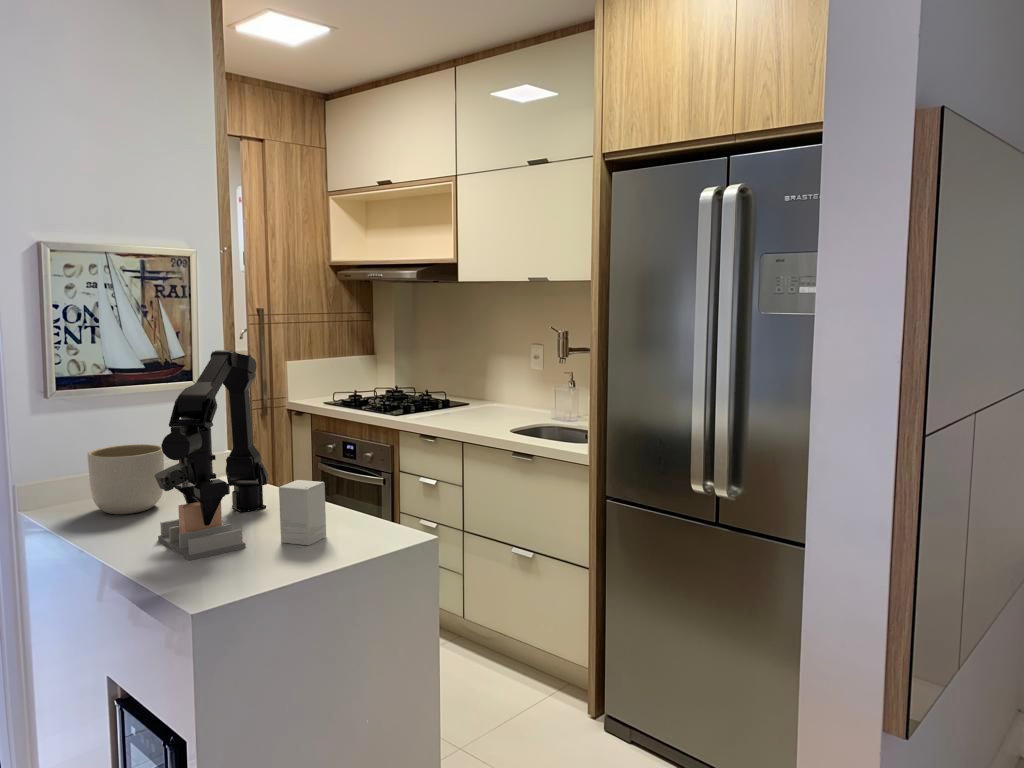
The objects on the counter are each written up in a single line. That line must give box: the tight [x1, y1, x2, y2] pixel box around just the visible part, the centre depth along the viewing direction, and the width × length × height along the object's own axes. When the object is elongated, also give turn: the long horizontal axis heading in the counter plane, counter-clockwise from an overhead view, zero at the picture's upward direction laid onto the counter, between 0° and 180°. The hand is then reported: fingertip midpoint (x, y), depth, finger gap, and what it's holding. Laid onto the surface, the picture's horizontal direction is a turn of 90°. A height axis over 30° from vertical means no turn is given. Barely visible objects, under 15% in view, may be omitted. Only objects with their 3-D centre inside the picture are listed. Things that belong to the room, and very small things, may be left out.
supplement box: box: [278, 479, 327, 546], centre depth 168 cm, size 7×7×13 cm
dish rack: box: [157, 518, 246, 561], centre depth 165 cm, size 12×18×4 cm, turn 43°
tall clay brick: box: [177, 501, 223, 533], centre depth 165 cm, size 8×3×8 cm, turn 133°
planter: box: [87, 443, 165, 515], centre depth 191 cm, size 17×17×15 cm
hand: (200, 521), depth 165 cm, fingers open, 7 cm apart
